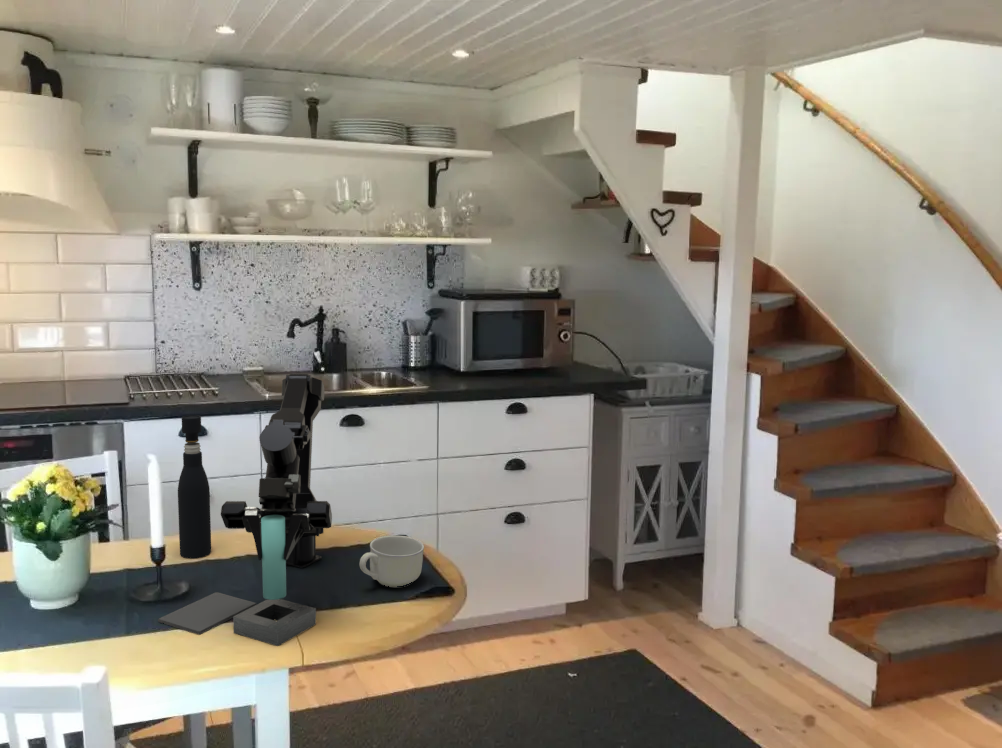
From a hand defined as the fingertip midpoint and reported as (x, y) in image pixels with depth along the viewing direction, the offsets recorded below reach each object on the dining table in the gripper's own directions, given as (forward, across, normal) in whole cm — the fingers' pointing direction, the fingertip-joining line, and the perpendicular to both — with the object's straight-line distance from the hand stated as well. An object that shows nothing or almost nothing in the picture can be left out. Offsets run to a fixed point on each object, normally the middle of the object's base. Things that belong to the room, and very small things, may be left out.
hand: (272, 559), depth 158 cm
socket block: (+8, 0, +10) cm, 13 cm away
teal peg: (+4, 0, +6) cm, 7 cm away
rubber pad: (+4, -13, +15) cm, 20 cm away
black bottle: (-18, -23, +37) cm, 47 cm away
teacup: (-6, +19, +25) cm, 32 cm away
